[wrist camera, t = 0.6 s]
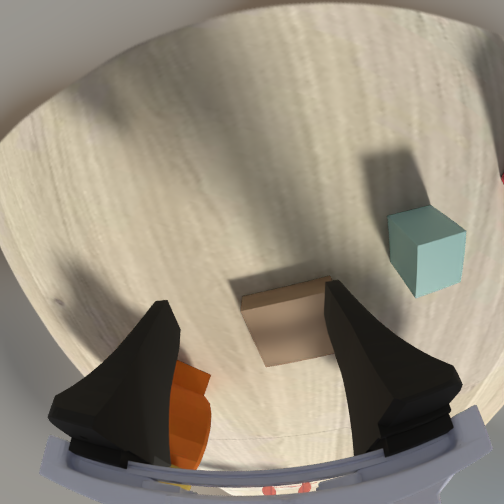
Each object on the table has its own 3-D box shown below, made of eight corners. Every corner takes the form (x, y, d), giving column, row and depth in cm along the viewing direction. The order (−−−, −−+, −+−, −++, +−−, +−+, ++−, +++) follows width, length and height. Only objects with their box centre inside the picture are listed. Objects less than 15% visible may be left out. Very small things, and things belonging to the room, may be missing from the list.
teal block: (430, 249, 22) (460, 281, 17) (390, 261, 22) (415, 298, 17) (430, 204, 20) (466, 230, 15) (387, 215, 20) (417, 246, 15)
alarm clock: (181, 408, 35) (156, 524, 18) (143, 391, 34) (108, 508, 16) (221, 370, 30) (198, 533, 12) (174, 349, 29) (127, 516, 11)
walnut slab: (338, 333, 27) (343, 351, 25) (266, 349, 28) (265, 367, 26) (329, 272, 24) (335, 289, 21) (242, 293, 25) (240, 311, 23)
